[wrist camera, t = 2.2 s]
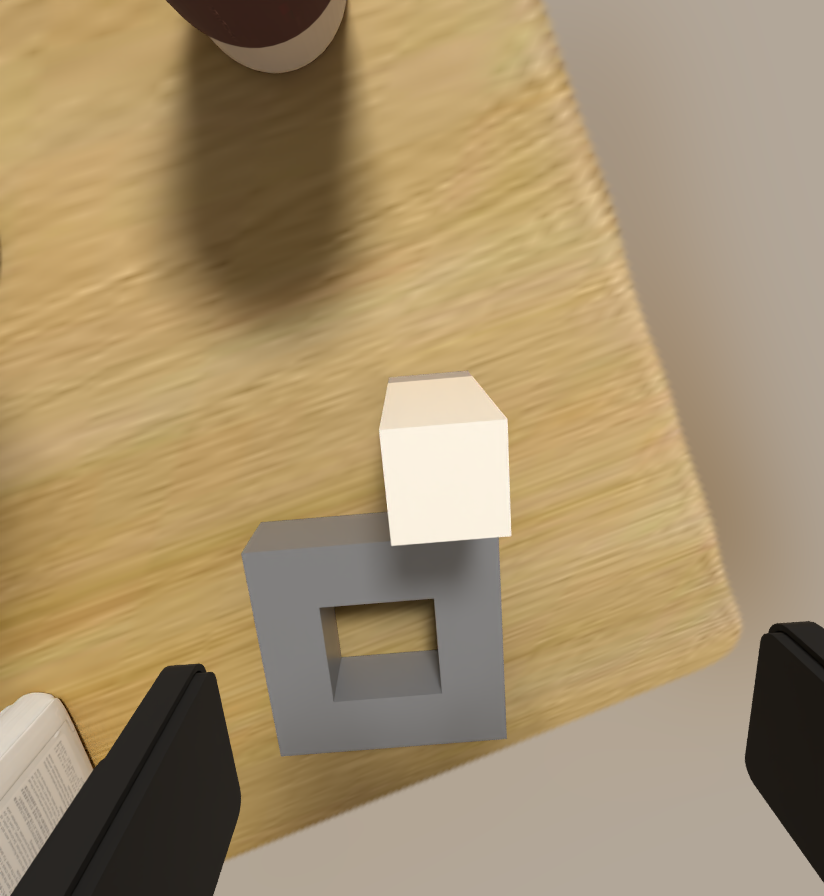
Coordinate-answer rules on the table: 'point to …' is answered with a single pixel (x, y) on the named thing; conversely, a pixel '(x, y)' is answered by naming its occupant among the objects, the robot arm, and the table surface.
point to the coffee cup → (266, 29)
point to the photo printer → (35, 779)
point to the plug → (444, 460)
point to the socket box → (384, 675)
